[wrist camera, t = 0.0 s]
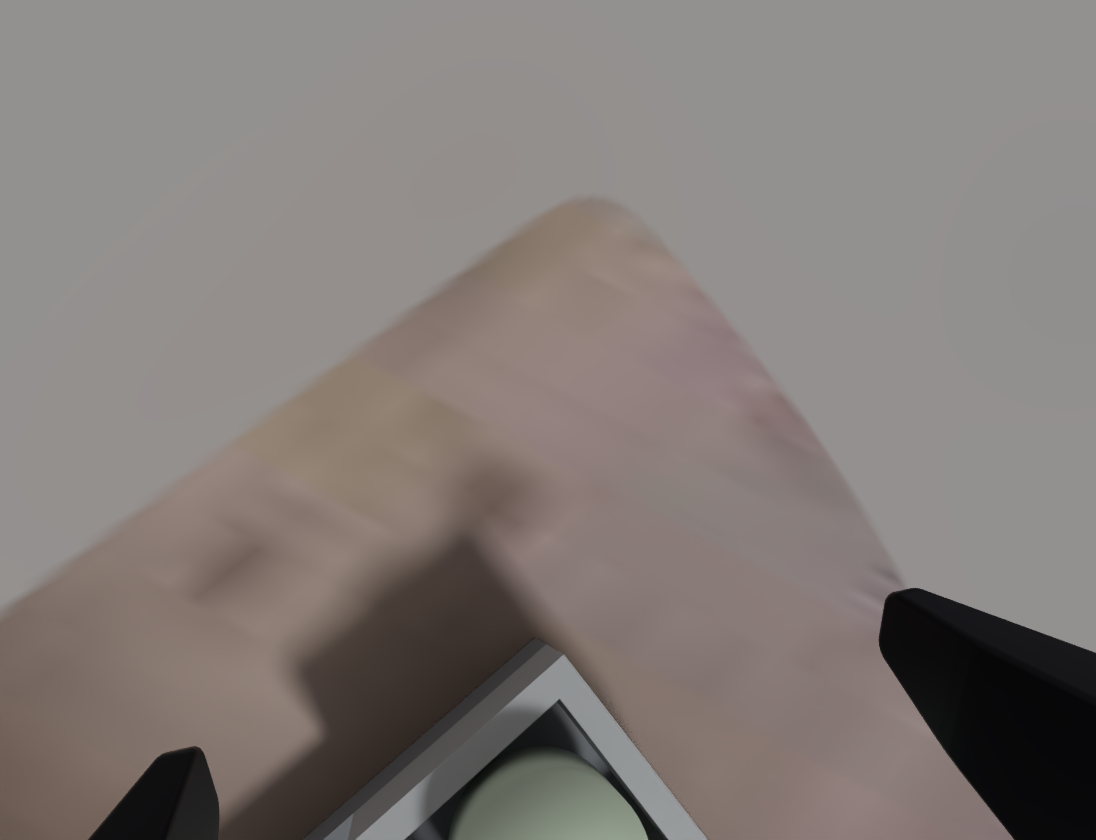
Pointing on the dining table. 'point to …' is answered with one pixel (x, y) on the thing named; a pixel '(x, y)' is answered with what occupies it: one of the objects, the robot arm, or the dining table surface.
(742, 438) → the dining table surface
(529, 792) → the sage button
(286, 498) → the dining table surface
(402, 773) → the button panel
